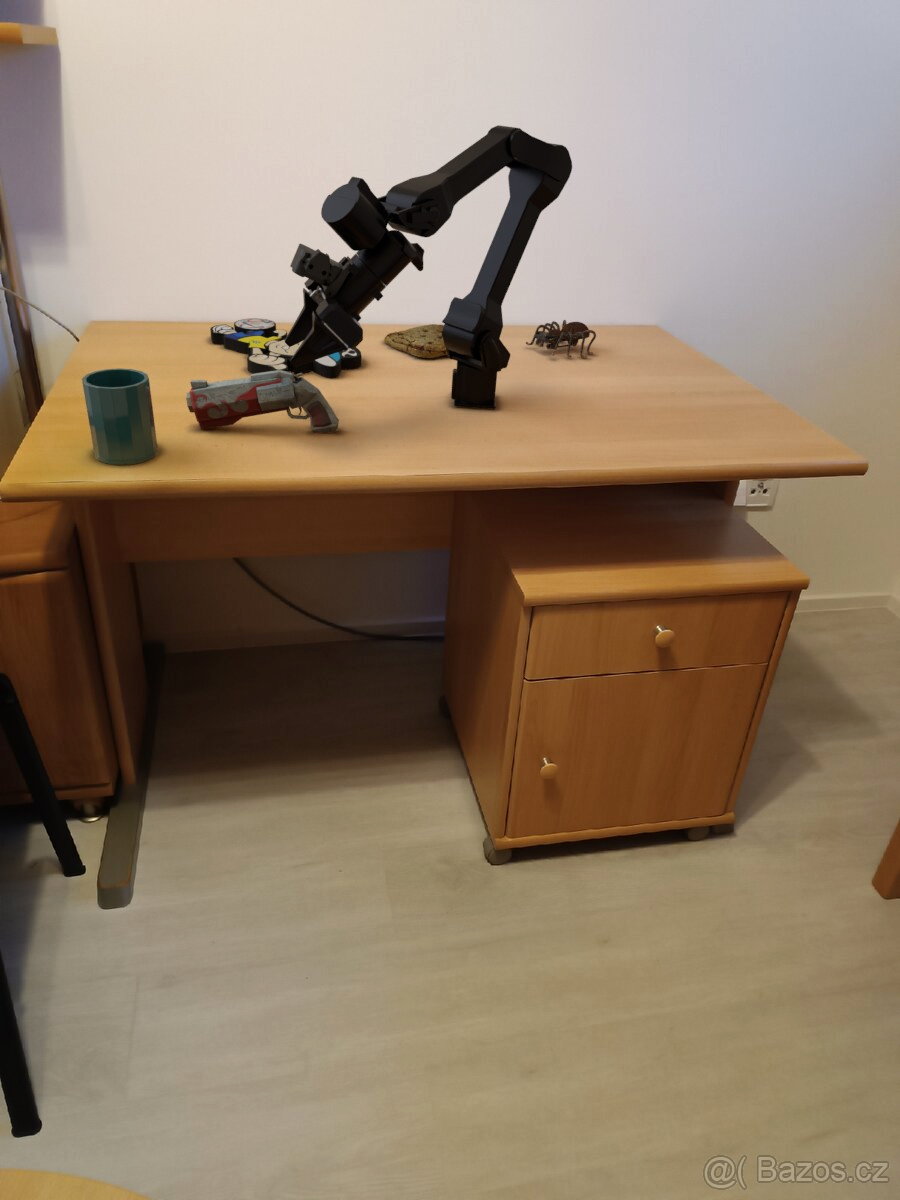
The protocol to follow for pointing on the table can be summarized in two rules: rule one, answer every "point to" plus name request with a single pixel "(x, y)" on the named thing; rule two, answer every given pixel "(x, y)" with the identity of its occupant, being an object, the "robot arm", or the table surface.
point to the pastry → (419, 341)
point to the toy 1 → (277, 349)
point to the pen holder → (120, 416)
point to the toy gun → (259, 400)
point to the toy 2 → (563, 336)
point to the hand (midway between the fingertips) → (289, 353)
